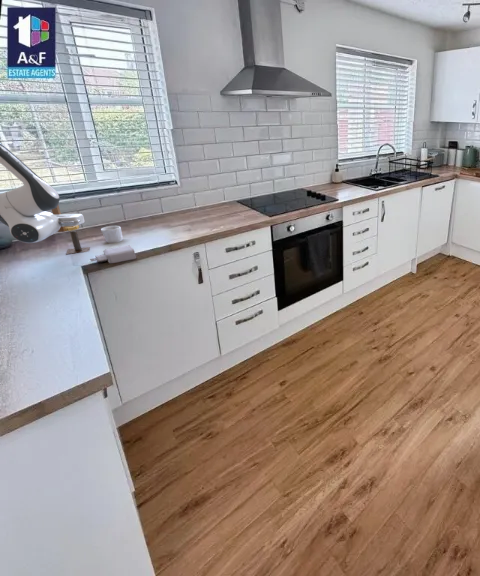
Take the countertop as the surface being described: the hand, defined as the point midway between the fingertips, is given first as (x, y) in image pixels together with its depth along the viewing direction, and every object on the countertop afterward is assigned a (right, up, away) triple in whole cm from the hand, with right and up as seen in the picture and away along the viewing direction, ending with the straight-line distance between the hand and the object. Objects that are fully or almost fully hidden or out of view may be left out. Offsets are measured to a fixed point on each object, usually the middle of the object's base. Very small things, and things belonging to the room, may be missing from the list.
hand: (58, 216), depth 150 cm
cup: (+1, -8, +30) cm, 30 cm away
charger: (+19, -18, +5) cm, 27 cm away
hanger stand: (-3, -14, +14) cm, 20 cm away
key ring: (-1, -4, +5) cm, 7 cm away
